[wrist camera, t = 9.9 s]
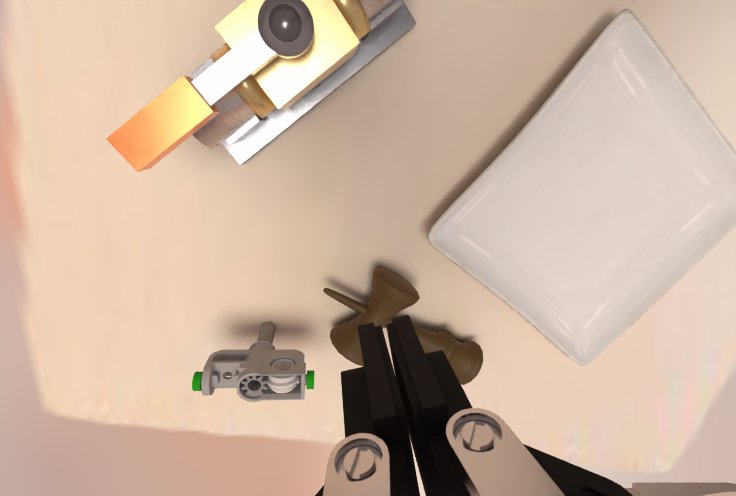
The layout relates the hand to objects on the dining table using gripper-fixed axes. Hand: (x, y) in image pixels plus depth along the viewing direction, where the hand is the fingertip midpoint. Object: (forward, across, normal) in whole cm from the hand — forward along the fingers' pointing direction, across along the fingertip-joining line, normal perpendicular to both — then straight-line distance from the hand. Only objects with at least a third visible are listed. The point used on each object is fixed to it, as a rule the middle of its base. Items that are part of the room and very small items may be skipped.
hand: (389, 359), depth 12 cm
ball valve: (+28, +2, -13) cm, 31 cm away
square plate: (+29, -26, +7) cm, 39 cm away
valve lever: (+17, +7, -10) cm, 21 cm away
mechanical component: (+28, +11, +13) cm, 33 cm away
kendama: (+28, -3, +16) cm, 32 cm away
